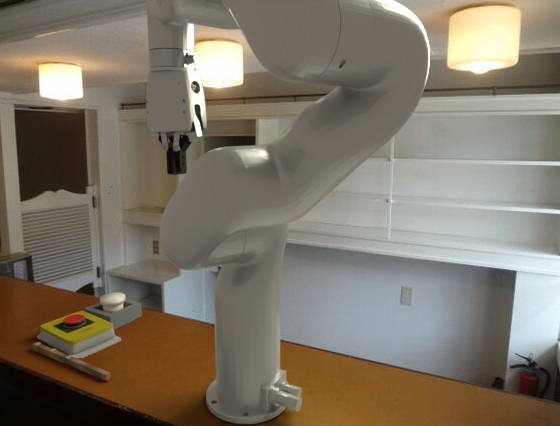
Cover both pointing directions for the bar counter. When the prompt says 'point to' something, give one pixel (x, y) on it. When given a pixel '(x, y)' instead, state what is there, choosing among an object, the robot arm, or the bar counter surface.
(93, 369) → the rail
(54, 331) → the emergency button
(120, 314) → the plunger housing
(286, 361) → the bar counter surface
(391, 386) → the bar counter surface
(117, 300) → the plunger
